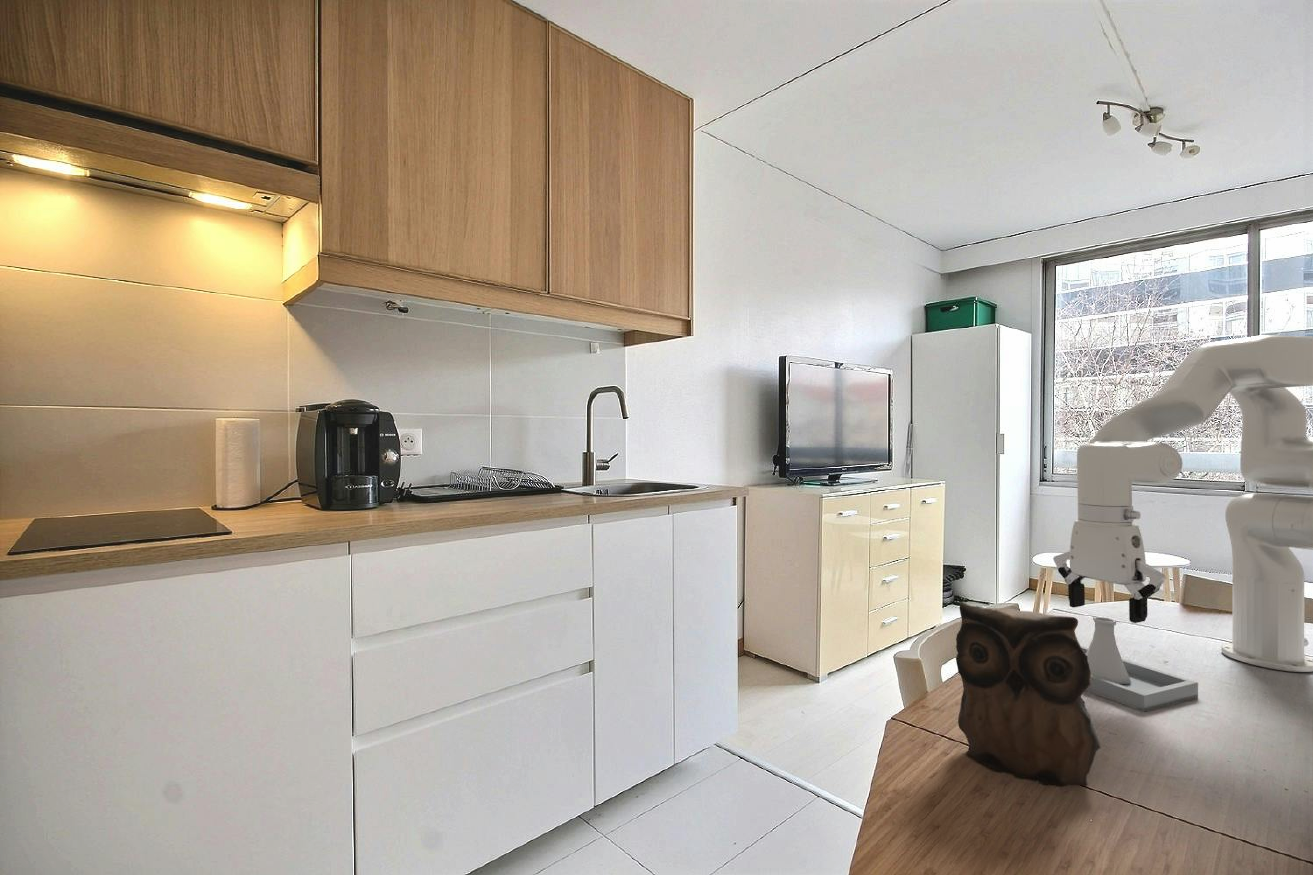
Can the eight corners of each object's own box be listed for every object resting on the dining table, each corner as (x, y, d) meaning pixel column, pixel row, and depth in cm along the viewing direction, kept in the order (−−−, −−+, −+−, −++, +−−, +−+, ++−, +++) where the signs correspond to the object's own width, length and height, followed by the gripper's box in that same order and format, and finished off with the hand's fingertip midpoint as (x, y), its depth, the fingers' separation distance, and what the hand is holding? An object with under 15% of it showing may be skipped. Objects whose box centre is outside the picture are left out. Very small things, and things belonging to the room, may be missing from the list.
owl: (1105, 791, 70) (1105, 620, 70) (1003, 795, 68) (1004, 622, 69) (1028, 737, 82) (1029, 593, 82) (941, 740, 81) (942, 594, 81)
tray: (1071, 655, 114) (1071, 642, 114) (1197, 697, 95) (1197, 682, 95) (1020, 665, 109) (1020, 651, 109) (1144, 711, 90) (1144, 695, 90)
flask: (1140, 687, 98) (1141, 626, 98) (1091, 683, 99) (1091, 623, 99) (1116, 670, 105) (1116, 614, 105) (1070, 667, 106) (1070, 611, 106)
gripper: (1176, 519, 96) (1178, 625, 96) (1067, 508, 112) (1069, 598, 112) (1148, 522, 93) (1150, 631, 93) (1040, 510, 109) (1042, 603, 109)
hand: (1106, 613), depth 102 cm, fingers open, 9 cm apart
